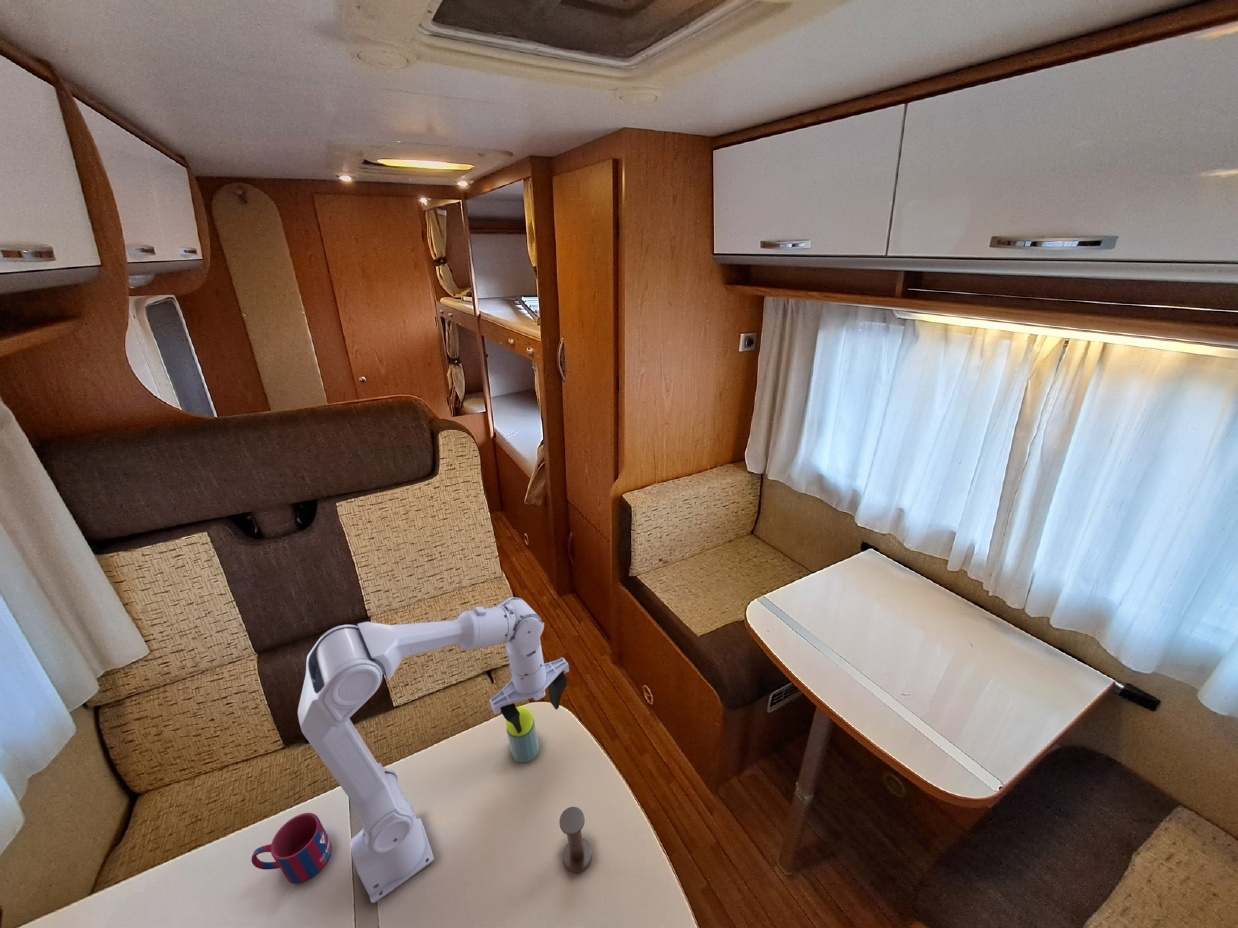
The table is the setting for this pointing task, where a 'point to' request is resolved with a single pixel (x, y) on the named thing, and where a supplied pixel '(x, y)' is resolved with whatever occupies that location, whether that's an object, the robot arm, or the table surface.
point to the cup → (298, 849)
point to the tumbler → (524, 745)
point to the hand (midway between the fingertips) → (536, 716)
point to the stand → (575, 841)
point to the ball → (521, 722)
